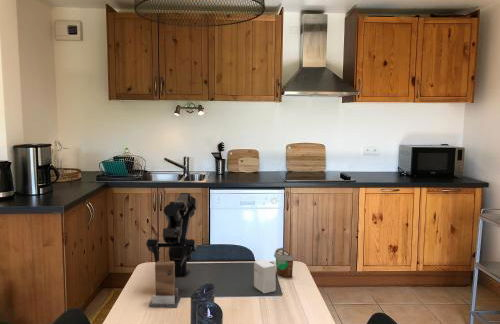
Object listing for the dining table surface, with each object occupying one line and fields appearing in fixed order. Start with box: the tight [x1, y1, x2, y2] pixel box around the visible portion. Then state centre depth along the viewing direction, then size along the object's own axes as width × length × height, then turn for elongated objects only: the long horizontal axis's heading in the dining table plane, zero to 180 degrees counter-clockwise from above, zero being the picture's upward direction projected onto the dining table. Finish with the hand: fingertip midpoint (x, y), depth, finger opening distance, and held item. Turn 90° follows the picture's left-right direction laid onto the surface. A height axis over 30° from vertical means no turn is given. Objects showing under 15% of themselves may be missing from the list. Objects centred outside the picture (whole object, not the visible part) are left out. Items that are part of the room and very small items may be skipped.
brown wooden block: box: [154, 261, 176, 295], centre depth 150 cm, size 4×6×14 cm, turn 88°
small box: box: [253, 259, 277, 294], centre depth 164 cm, size 8×6×10 cm
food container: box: [273, 247, 295, 278], centre depth 179 cm, size 12×6×10 cm, turn 17°
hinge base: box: [148, 287, 182, 309], centre depth 151 cm, size 8×10×4 cm
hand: (168, 265), depth 156 cm, fingers open, 9 cm apart
